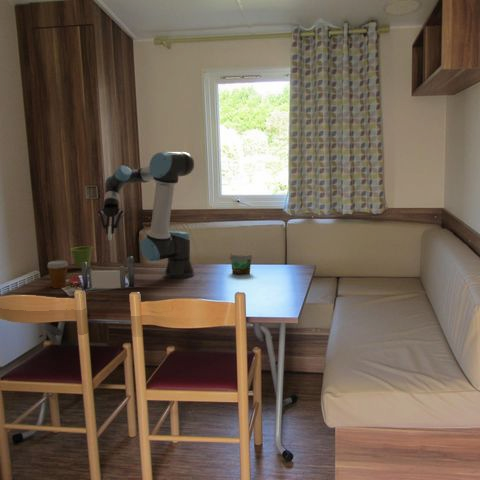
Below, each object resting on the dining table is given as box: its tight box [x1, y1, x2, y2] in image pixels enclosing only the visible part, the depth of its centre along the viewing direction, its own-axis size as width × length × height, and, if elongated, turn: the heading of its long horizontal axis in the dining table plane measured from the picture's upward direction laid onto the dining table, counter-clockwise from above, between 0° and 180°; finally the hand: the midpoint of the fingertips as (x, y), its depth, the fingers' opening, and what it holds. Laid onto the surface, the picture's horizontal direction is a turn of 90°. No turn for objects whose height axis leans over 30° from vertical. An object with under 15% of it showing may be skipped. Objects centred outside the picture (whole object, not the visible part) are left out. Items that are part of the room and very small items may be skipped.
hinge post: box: [81, 262, 91, 291], centre depth 245 cm, size 4×4×13 cm
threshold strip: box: [90, 285, 128, 290], centre depth 248 cm, size 17×3×1 cm, turn 96°
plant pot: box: [69, 245, 93, 270], centre depth 291 cm, size 12×12×11 cm
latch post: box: [126, 255, 137, 289], centre depth 248 cm, size 4×4×15 cm
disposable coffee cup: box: [46, 260, 69, 289], centre depth 251 cm, size 10×10×12 cm
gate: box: [87, 265, 127, 289], centre depth 245 cm, size 17×2×10 cm, turn 87°
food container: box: [229, 253, 253, 276], centre depth 271 cm, size 12×6×10 cm, turn 68°
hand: (109, 238), depth 258 cm, fingers closed
